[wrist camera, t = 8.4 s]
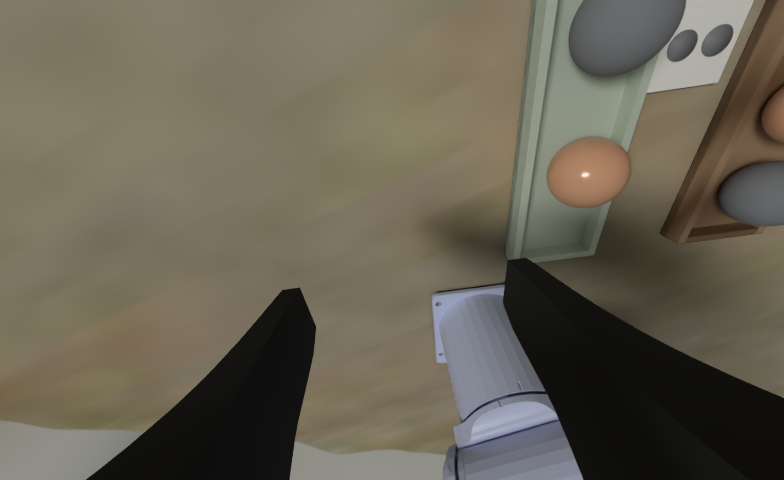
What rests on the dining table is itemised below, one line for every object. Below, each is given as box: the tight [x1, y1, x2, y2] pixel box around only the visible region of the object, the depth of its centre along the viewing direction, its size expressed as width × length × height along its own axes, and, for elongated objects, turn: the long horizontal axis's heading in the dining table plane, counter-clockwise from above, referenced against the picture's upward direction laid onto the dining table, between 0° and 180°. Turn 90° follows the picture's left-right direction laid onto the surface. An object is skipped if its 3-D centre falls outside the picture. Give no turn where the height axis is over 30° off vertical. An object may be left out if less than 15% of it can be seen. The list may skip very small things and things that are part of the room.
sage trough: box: [505, 0, 754, 263], centre depth 17 cm, size 18×11×2 cm, turn 7°
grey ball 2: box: [719, 161, 784, 226], centre depth 18 cm, size 4×4×4 cm
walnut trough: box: [660, 0, 784, 244], centre depth 16 cm, size 18×6×2 cm, turn 7°
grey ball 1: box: [569, 0, 686, 77], centre depth 13 cm, size 4×4×4 cm
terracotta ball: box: [546, 137, 631, 208], centre depth 16 cm, size 4×4×4 cm
